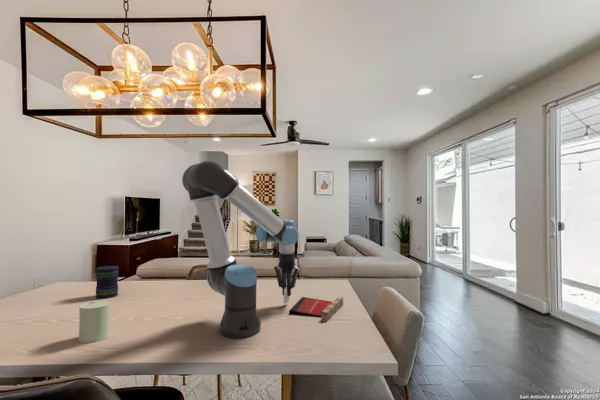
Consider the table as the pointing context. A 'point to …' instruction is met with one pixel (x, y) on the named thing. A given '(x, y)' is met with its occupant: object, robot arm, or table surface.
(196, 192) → the robot arm
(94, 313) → the can
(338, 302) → the rail
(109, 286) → the storage jar
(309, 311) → the binder
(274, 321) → the table surface
